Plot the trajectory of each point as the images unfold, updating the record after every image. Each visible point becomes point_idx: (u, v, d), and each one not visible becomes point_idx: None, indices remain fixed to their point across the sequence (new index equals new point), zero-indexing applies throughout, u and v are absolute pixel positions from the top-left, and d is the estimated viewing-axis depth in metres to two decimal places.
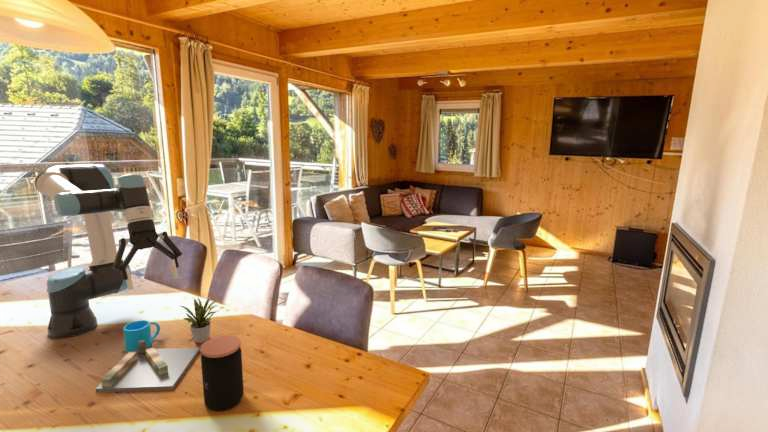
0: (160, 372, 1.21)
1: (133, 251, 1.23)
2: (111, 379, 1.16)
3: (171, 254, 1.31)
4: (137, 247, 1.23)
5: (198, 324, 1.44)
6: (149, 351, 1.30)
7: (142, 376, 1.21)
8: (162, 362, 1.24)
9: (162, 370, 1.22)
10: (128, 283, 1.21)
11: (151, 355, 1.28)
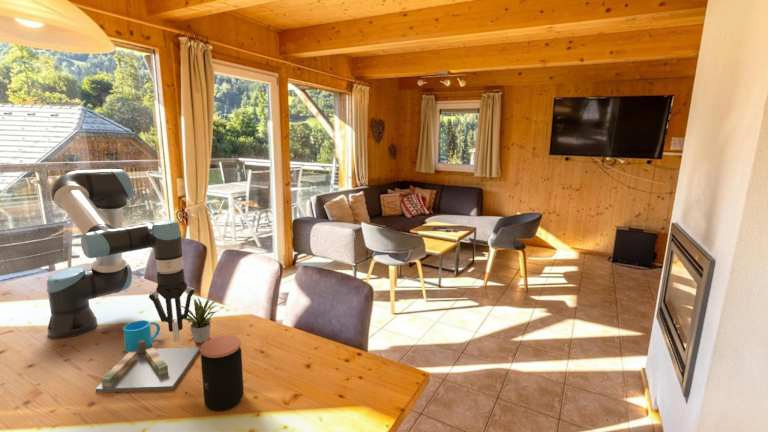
0: (160, 372, 1.21)
1: (167, 304, 1.20)
2: (111, 379, 1.16)
3: (178, 315, 1.22)
4: (168, 300, 1.20)
5: (198, 324, 1.44)
6: (149, 351, 1.30)
7: (142, 376, 1.21)
8: (162, 362, 1.24)
9: (162, 370, 1.22)
10: None
11: (151, 355, 1.28)
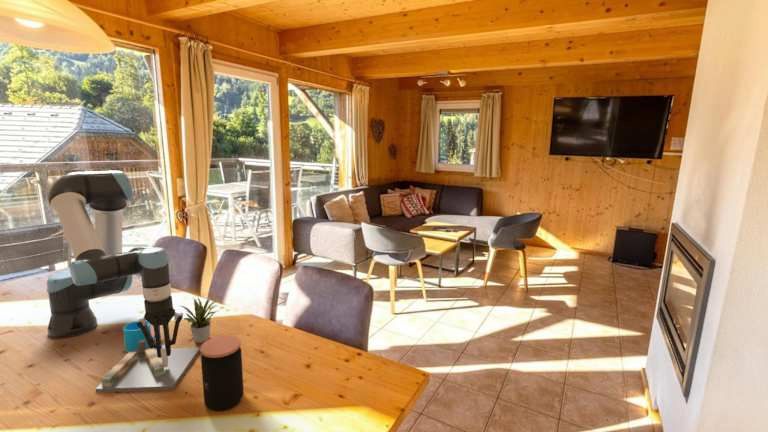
0: (156, 373, 1.20)
1: (155, 331, 1.21)
2: (111, 379, 1.16)
3: (166, 341, 1.22)
4: (156, 327, 1.20)
5: (198, 324, 1.44)
6: (148, 351, 1.30)
7: (142, 376, 1.21)
8: (159, 363, 1.23)
9: (158, 372, 1.21)
10: (162, 360, 1.24)
11: (149, 356, 1.27)
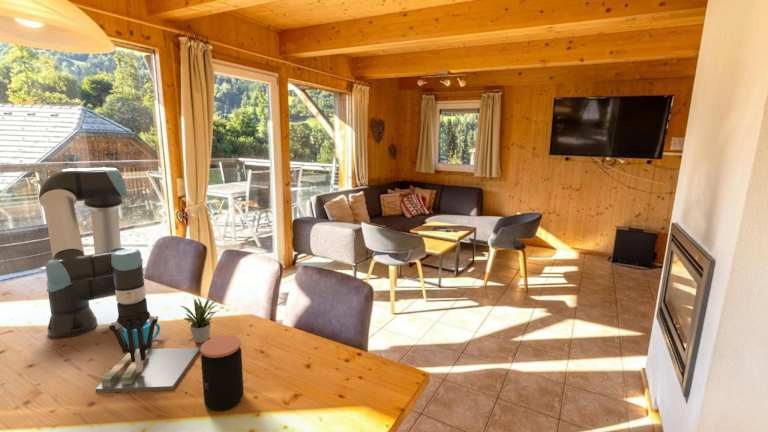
0: (122, 382, 1.16)
1: (129, 334, 1.17)
2: (111, 379, 1.16)
3: (140, 345, 1.19)
4: (129, 330, 1.17)
5: (198, 324, 1.44)
6: None
7: (142, 376, 1.21)
8: (131, 371, 1.19)
9: (125, 380, 1.16)
10: None
11: None
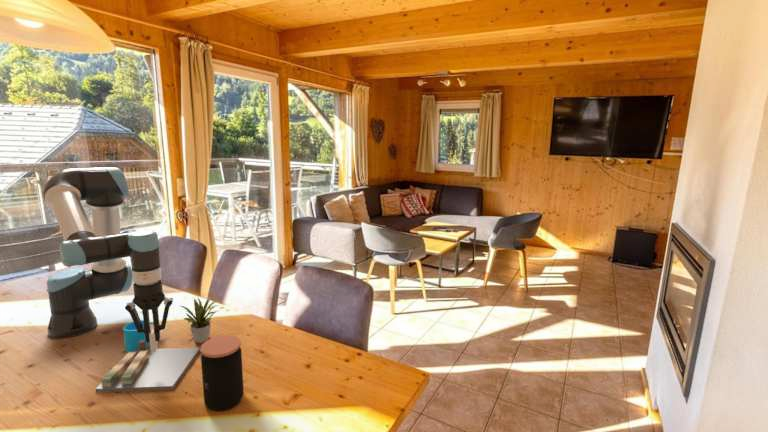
0: (122, 382, 1.16)
1: (144, 315, 1.19)
2: (111, 379, 1.16)
3: (155, 326, 1.21)
4: (144, 311, 1.18)
5: (198, 324, 1.44)
6: (139, 354, 1.28)
7: (142, 376, 1.21)
8: (131, 371, 1.19)
9: (125, 380, 1.16)
10: None
11: (135, 359, 1.25)
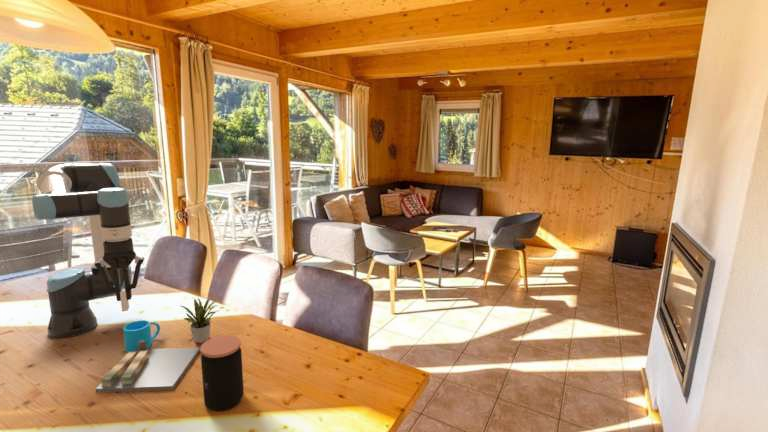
0: (122, 382, 1.16)
1: (115, 273, 1.19)
2: (111, 379, 1.16)
3: (126, 284, 1.21)
4: (115, 268, 1.18)
5: (198, 324, 1.44)
6: (139, 354, 1.28)
7: (142, 376, 1.21)
8: (131, 371, 1.19)
9: (125, 380, 1.16)
10: None
11: (135, 359, 1.25)
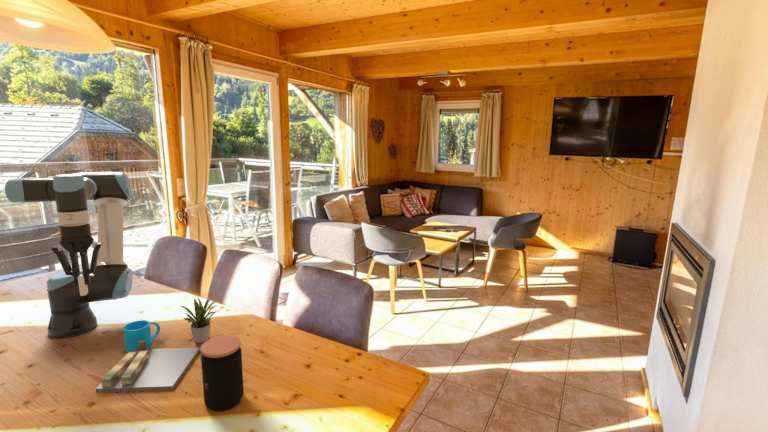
0: (122, 382, 1.16)
1: (72, 257, 1.21)
2: (111, 379, 1.16)
3: (84, 269, 1.23)
4: (72, 253, 1.21)
5: (198, 324, 1.44)
6: (139, 354, 1.28)
7: (142, 376, 1.21)
8: (131, 371, 1.19)
9: (125, 380, 1.16)
10: None
11: (135, 359, 1.25)
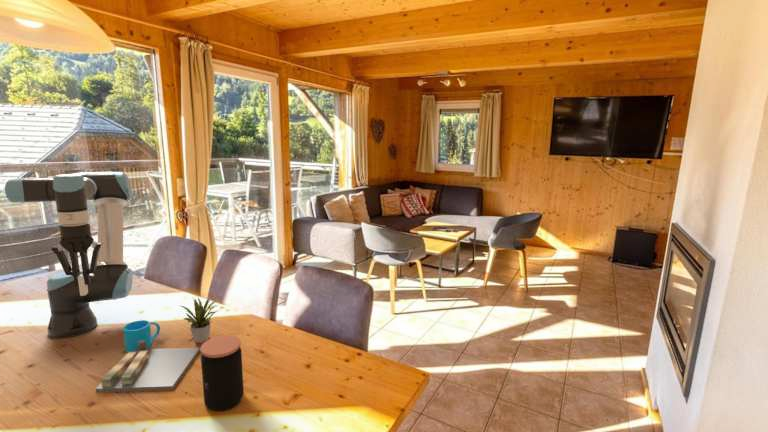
0: (122, 382, 1.16)
1: (72, 257, 1.21)
2: (111, 379, 1.16)
3: (84, 269, 1.23)
4: (72, 253, 1.21)
5: (198, 324, 1.44)
6: (139, 354, 1.28)
7: (142, 376, 1.21)
8: (131, 371, 1.19)
9: (125, 380, 1.16)
10: None
11: (135, 359, 1.25)
